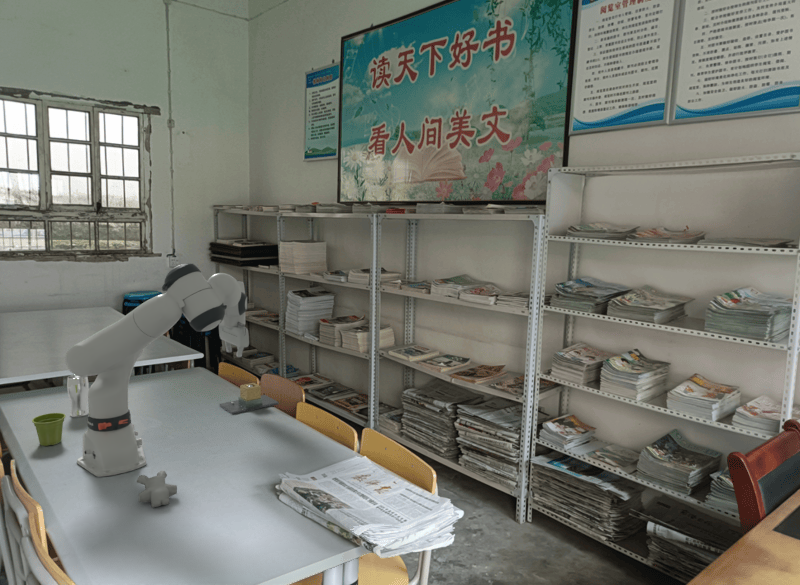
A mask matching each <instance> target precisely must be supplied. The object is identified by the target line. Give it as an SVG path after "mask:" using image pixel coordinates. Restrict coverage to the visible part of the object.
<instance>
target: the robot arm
mask: <svg viewBox="0 0 800 585" xmlns="http://www.w3.org/2000/svg"><path fill="white" fill-rule="evenodd" d="M161 290H162V291H163V292H164V293H161V294H158V295H156V296H153V297H151V298H150V299H147V300H145V301H143V303H141V304H139V305H138V306H137V307H135V308H134V309H132V310H131V311H130V312H128V313H127V314H126V315H124V316H122V317H121V318H120V319H119V320H117V321H115V322H114V323H112V324H110V325H108V326H106V327H103V329H100V330H99V331H97V332H95V333H94V334H92V335H90V336H88V337H87V338H85V339H83V340H81V341H79V342H77V343H75V344H74V345H71V346H70V347H69V348H68V349H67V351H66V352H65V353H66V354H65V357H64V358H65V365H66V367H67V369H68V371H69V372H70V373H71V374H72V375H76V376H87V377H91V376H96V375H97V376H96V378H95V380H94V382H93V383H92V384H91V385H90V386H89V391H88V398H87V408H88V412H89V413H88V414H87V415H86V417H87V419H86V423H87V427H88V428H87V430H86V431H85V432H84V434H83V435H82V456H80V457H78V458H77V459H76V464H78V465H79V466H80V467H82V468H83V469H85V470H86V471H87V472H89V473H91V474H92V475H94V476H95V477H101V478H102V477H109V476H116V475H120V474H123V473H128V472H131V471H135V470H137V469H140V468H142V467H144V466H145V465H147V461H146V460H147V459H146V456H145V452H144V447H143V440H142V437H141V438H137V437H136V436H138V435H139V431H138V430H136V431H135V424H133V423H132V418H131V417H132V416H131V412H130V409H129V384H130V379H131V376H132V372H133V369H134V366H135V364H136V362H137V361H138V359H139V358H140V356H142V354H143V350H144V349H145V348H147V347H148V346H149V345H150V344H152V343H153V342H155V341H156V340H158V339H159V338H161V337H162V336H163V335H164V334H166V333H167V332H168V331H169V330H170V329H172V328H173V326H175V325H176V324H177V322H178V321H179V320H180V319H181V318H182V316H184V317H185V318H186V320H187V321H188V322H189V325H190V327H191V328H192V329H193V330H194V331H196V332H200V333H203V332H208V331H211V330H214V329H215V328H217V327H218V334H219V336H218V337H219V339H220V340H222V341H224V345H225V348H226V349H225V351H226V353H232V352H233V348H232V345H233V346H236V349H237V351H236V352H235V353H236V354H235V355H236V357H237V358H242V356H243V352H244V350H245V348H248V347H249V345H250V335H249V330H248V328H247V327H246V311H248V296H247V295H246V290H245V284H244V281H242V280H237V278H235V277H233V276H232V275H231V274H229V273H225V272H218V273H214V274H212V275H211V276H210V277H209V278H208V279H206V277H205V276H204V275H203V274H202V271H201V270H200V268H199V267H197V266H196V265H195V264H194V263H190V262H185V263H182V264H178V265H177V266H175V267H174V268H173V267H172V269H171V270H169V271H168V273H167V274H166V276H165V278H164V282H163V284H162V287H161Z"/></svg>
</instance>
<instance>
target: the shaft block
mask: <svg viewBox="0 0 800 585" xmlns="http://www.w3.org/2000/svg"><path fill="white" fill-rule="evenodd" d="M249 387H253V385H248V388H249ZM279 403H280V402H279V401H278V400H276V399H274V398H271V397H270V396H268V395H266V394H261V398H259V399H254V400H250V401H246V400H244V399H243V398H241V397H240V396H238V399H236V400H232V401H226V402H223V403H222V402H221V403H219V407H220V408H221V409H223V410H225V411H226V412H228V413H229V414H231V415H236V414H240V413H246V412H250V411H255V410H258V409H260V410H261V409H264V408H269V407H274V406H279Z"/></svg>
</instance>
